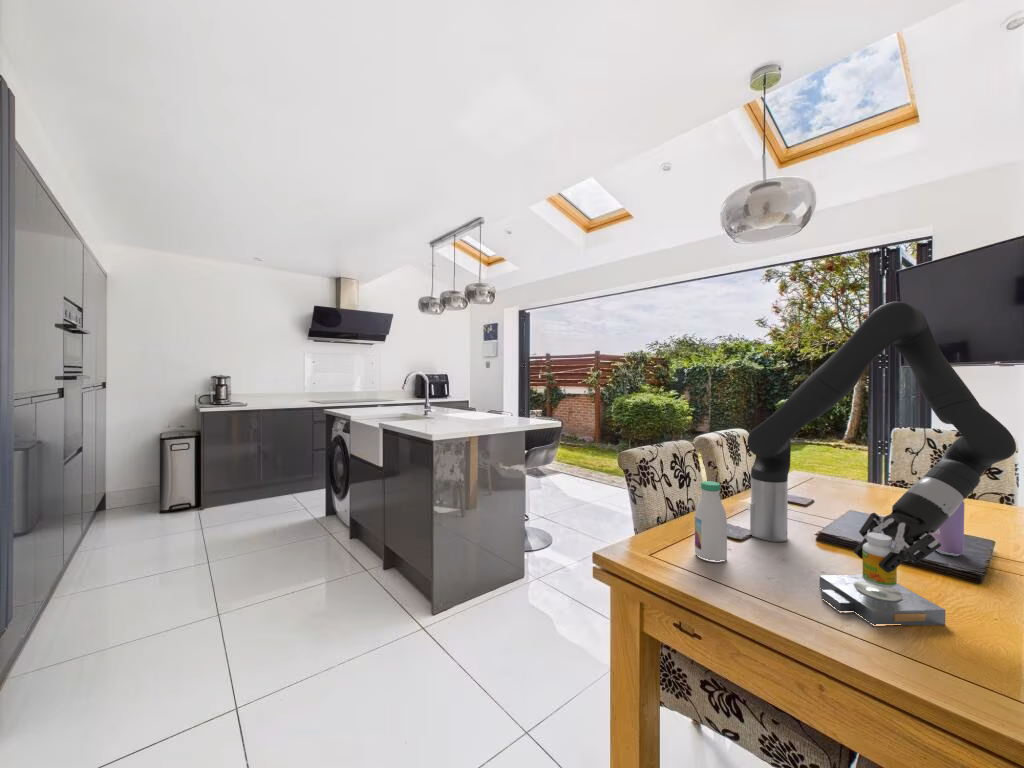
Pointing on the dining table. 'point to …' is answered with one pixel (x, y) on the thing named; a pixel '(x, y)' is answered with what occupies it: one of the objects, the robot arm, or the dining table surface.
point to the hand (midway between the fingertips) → (870, 562)
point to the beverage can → (952, 532)
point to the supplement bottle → (878, 560)
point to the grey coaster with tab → (879, 601)
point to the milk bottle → (710, 524)
